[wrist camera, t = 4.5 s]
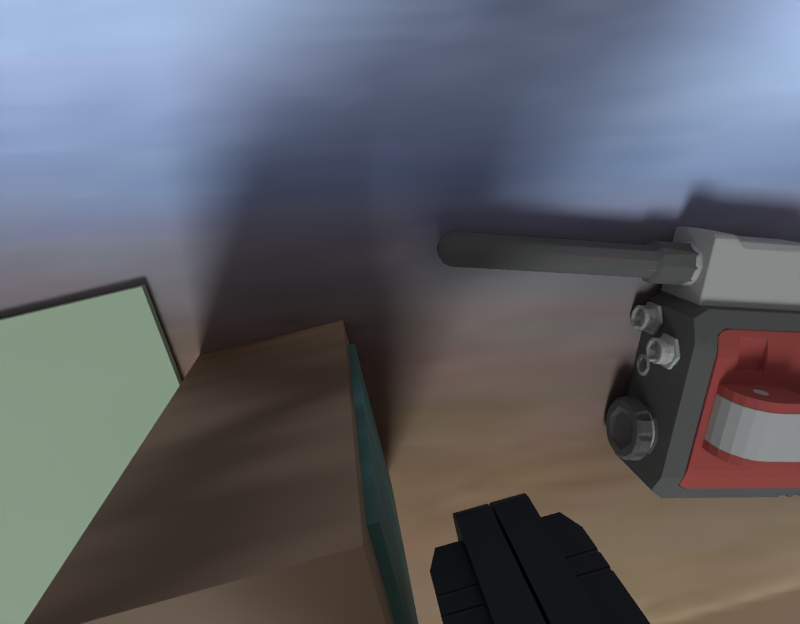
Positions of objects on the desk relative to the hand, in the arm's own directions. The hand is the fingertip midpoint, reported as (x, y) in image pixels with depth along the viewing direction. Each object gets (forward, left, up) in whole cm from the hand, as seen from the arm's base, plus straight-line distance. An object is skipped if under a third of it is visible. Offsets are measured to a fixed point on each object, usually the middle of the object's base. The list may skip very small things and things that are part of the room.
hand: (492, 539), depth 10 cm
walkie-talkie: (-10, +1, -8) cm, 13 cm away
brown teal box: (+4, 0, -7) cm, 8 cm away
